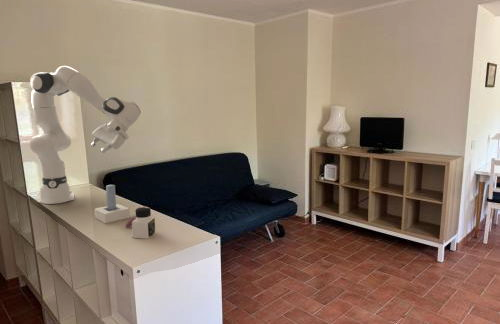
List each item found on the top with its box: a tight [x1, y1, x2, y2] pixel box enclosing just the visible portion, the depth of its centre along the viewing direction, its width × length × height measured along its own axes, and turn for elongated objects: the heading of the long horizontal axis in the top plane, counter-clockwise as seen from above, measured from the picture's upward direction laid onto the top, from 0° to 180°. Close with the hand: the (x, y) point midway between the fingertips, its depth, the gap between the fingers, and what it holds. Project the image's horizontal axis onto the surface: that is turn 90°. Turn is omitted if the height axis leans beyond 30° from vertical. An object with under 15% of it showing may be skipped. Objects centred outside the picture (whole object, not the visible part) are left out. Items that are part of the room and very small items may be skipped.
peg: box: [105, 184, 117, 211], centre depth 167 cm, size 4×4×16 cm
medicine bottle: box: [131, 206, 156, 240], centre depth 144 cm, size 7×7×12 cm
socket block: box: [93, 203, 131, 224], centre depth 168 cm, size 12×12×4 cm
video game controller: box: [124, 215, 136, 229], centre depth 153 cm, size 10×5×7 cm, turn 48°
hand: (96, 148), depth 171 cm, fingers open, 8 cm apart
